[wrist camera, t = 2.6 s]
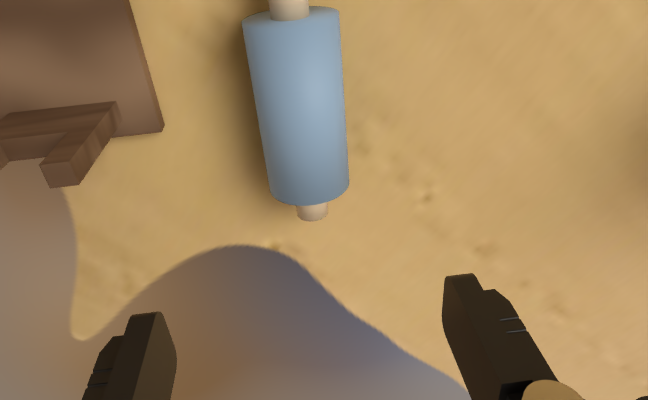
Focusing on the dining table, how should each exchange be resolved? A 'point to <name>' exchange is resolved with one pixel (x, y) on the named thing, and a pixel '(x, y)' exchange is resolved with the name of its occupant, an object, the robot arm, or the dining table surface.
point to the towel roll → (299, 102)
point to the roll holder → (71, 83)
